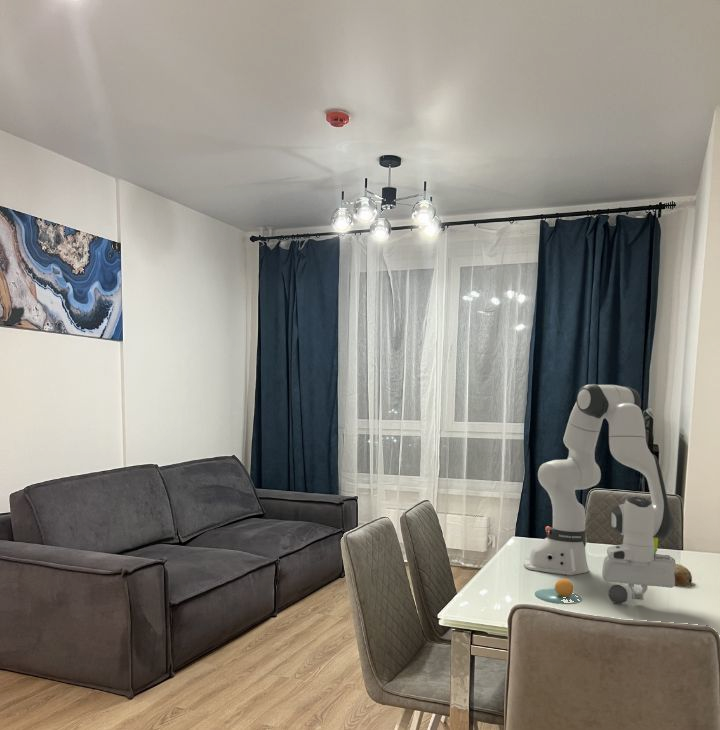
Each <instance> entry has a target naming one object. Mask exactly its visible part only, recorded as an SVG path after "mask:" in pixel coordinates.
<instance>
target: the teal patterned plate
mask: <svg viewBox="0 0 720 730" xmlns="http://www.w3.org/2000/svg"><path fill="white" fill-rule="evenodd" d="M573 593H574V594H571V595H570V596H569V597H566V598H563V597H561V596H559V595H558V594H557V592H556V590H555V588H544V589H537V590H535V592H534V596H535V597H536V598H538V599H540V600H541V601H545V602H549V603H553V604H559V603H564V602H563V601H561V600H563V599H565V600H566V599H567V600H568V602H570V601H569V600H570V599H571V600H572V601H574V602H578V603H580V602H581V600H583V598H582V596H581V595H579V594H578V593H575V592H573ZM575 595H576V596H578V597H576V596H575ZM577 599H579V600H580V602H579V601H578V600H577Z"/></svg>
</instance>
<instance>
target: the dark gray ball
mask: <svg viewBox="0 0 720 730" xmlns="http://www.w3.org/2000/svg"><path fill="white" fill-rule="evenodd" d="M607 594H608V598H609V599H610V600H611V601H612V603H613V604H616V605H617V604H618V605H622V604H624V603H626V602H627V600H628V598H629V597H628V595H629V594H628V590H627V589H626V588H625V586H623V585H621V584H613V585H612V586H610V587H609V589H608V591H607Z"/></svg>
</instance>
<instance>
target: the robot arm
mask: <svg viewBox="0 0 720 730" xmlns="http://www.w3.org/2000/svg"><path fill="white" fill-rule="evenodd" d="M641 407H642V398H641V395H640V393H639V392H638V391H637V390H636V389H634V388H632V387H629V386H621V385H617V384H596V383H592V384H591V383H590V384H585V385H583V386H582V387H581V388H579V390H578V391H577V395H576V401H575V404H574V406H573V408H572V410H571V412H570V415H569V418H568V422H567V424H566V428H565V432H564V436H563V439H562V440H563V441H562V442H563V444H564V445H565V447H566V448H567V449H568V456H567V459H553V460H550V461H546V462H544V463H542V464H541V465H540V466H539V468H538V471H537V480H538V482H539V484H540V485H541V486H542V488H543V489H544V490H545V491H546V492H547V493H548V496H549V498H550V500H551V501H550V502H551V507H552V526H551V527H550V526H549V525H548V526H545V529H544V530H545V532H546V537H545V538H544V539H542V540H541V541H539V542H537V543H536V544H535V545H533V547H532V548H531V550H530V555H529V557H527V558H525V559H524V561H523V566H524V568H526V569H527V570H531V571H539V572H545V573H550V574H551V573H552V574H559V575H565V574H566V576H574V575H578V574H586V573H588V572H589V571H590V569H589V565H588V560H587V556H586V555H587V553H586V546H587V530H586V526H585V525H586V509H585V507H584V505H583V504H581V503H580V502H579V501H578V498H577V496H576V491H577V490H587V489H589V488H592V487H595V486H597V485H598V484H599V483H600V481H601V479H602V477H601V476H602V473H601V469H600V466H599V464H598V463H597V462H596V459H595V458H596V457H595V455H596V454H595V453H596V446H597V442H598V438H599V436H600V432H601V428H602V425H603V420H604V419H605V420H606V421H607V423H608V446H609V451H610V454H611V456H612V457H613V458H614V459H615V460H616V461H617V462H618V463H620V464H622V465H624V466H626V467H628V468H631V469H633V470H635V471H638V472H639V473H641V475H644V478H646V481H647V485H648V490H649V495H650V499H651V501H650V500H649V499H647V498H643V497H640V496H632V497H628V498H626V499H625V500H624V503H622V504H617V505H615V506H614V507H613V508H612V509H611V510H610V522H609V523H610V528H611V529H612V530H613V531H614V532H616V534H618V535H621V536H623V538H622V539H623V540H622V543H621V544H616V545H613V546H609V547H607V548H606V554H607V555H606V556H605V557H604V560H603V564H602V571H601V573H602V575H601V576H602V578H603V579H602V580H604V581H605V582H606V583H615V584H617V583H618V584H628V585H627V586H628V587H629V589H630V591H631V599H633V600H639V601H641V600H642V601H643V600H644V595H645V594H646V592H647V591H648V587H660V588H661V587H662V588H670V589H671V588H674V586H676V585H675V576H674V569H675V567H676V564H677V561H676V560H675V558H674V557H672V556H671V555H668V554H658V553H656V554H654V540H653V538H658V539H660V540H661V539H662V540H663V539H665V538H667V537H668V536H670V535H671V534H672V532H673V531H674V527H675V522H674V518H673V514H672V511H671V507H670V505H669V500H668V494H667V491H666V487H665V485H666V484H665V482H664V475H663V472H662V469H661V465H660V462H659V459H658V457H657V456H656V455H655V454H654V453H652V452H651V450H650V449H649V446H648V444H647V439H646V438H647V436H646V435H647V434H646V426H645V420H644V415H643V411H642V409H641ZM635 585H638V586H639V585H640V586H641V588H642V589H641V590H640V592H639V591H638V592H637V591H635V590H634V588H635Z"/></svg>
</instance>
